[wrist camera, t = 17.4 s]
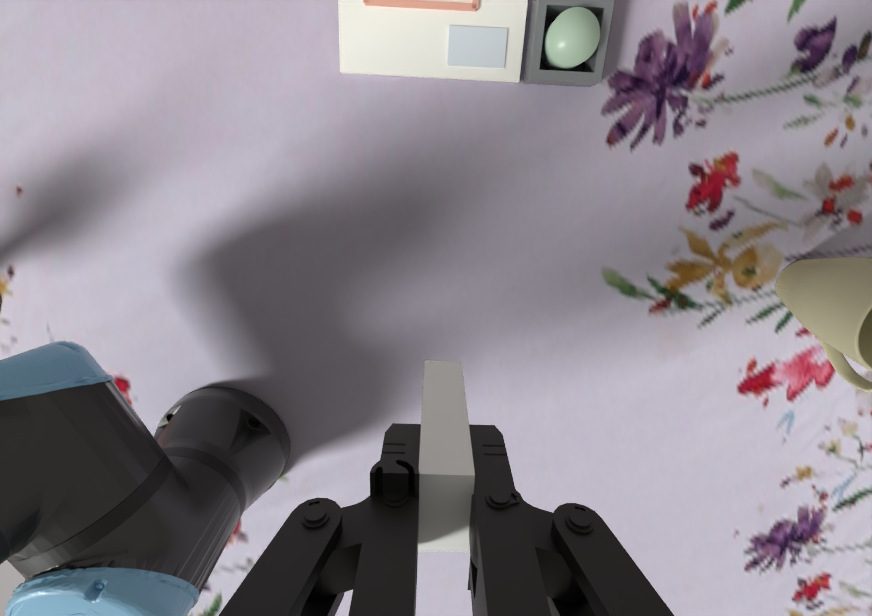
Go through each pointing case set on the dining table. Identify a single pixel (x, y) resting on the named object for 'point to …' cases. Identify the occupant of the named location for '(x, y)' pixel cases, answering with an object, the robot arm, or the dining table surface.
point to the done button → (570, 39)
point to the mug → (834, 308)
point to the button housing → (551, 4)
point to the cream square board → (433, 38)
